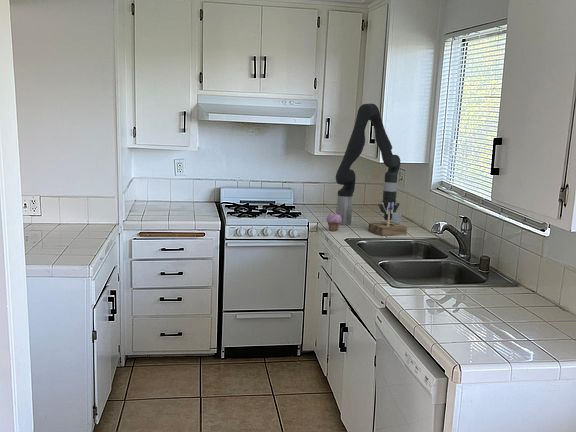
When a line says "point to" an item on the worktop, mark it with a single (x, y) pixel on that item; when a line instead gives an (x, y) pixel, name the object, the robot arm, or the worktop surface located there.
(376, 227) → the socket block
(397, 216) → the medicine box
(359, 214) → the worktop surface
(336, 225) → the cupcake
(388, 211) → the toy lamp
